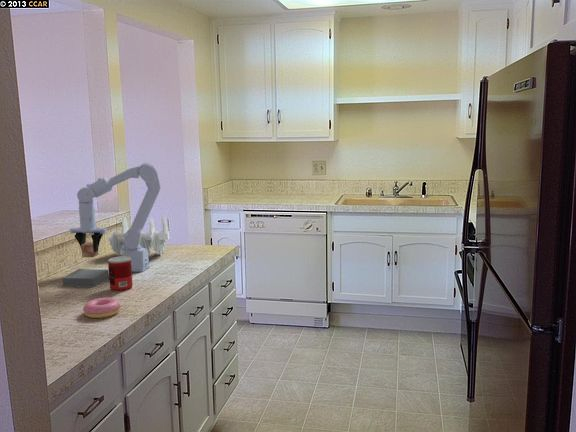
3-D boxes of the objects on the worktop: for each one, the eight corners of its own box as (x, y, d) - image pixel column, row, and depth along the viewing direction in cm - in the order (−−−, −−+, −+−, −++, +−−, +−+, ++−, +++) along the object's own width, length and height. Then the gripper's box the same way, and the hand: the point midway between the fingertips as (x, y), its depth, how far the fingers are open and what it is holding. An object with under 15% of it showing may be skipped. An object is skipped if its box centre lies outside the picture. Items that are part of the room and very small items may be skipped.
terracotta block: (98, 254, 208) (97, 242, 207) (93, 257, 204) (92, 245, 203) (87, 254, 209) (86, 242, 208) (82, 257, 204) (81, 244, 203)
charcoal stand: (108, 277, 200) (108, 269, 200) (93, 286, 189) (93, 278, 188) (79, 276, 202) (78, 269, 201) (62, 285, 190) (62, 278, 189)
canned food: (137, 286, 189) (135, 256, 187) (123, 292, 181) (121, 262, 180) (119, 284, 191) (117, 255, 189) (105, 290, 184) (103, 260, 182)
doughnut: (127, 313, 162) (126, 300, 161) (93, 322, 154) (92, 309, 153) (110, 305, 169) (109, 293, 168) (77, 314, 161) (76, 301, 160)
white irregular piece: (119, 261, 240) (172, 258, 241) (106, 253, 223) (164, 250, 224) (120, 223, 245) (172, 220, 246) (107, 213, 228) (164, 209, 229)
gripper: (64, 219, 200) (67, 253, 203) (100, 219, 199) (102, 253, 201) (74, 216, 207) (76, 249, 210) (108, 216, 206) (110, 249, 208)
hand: (90, 251), depth 206 cm, fingers closed on terracotta block, 4 cm apart
